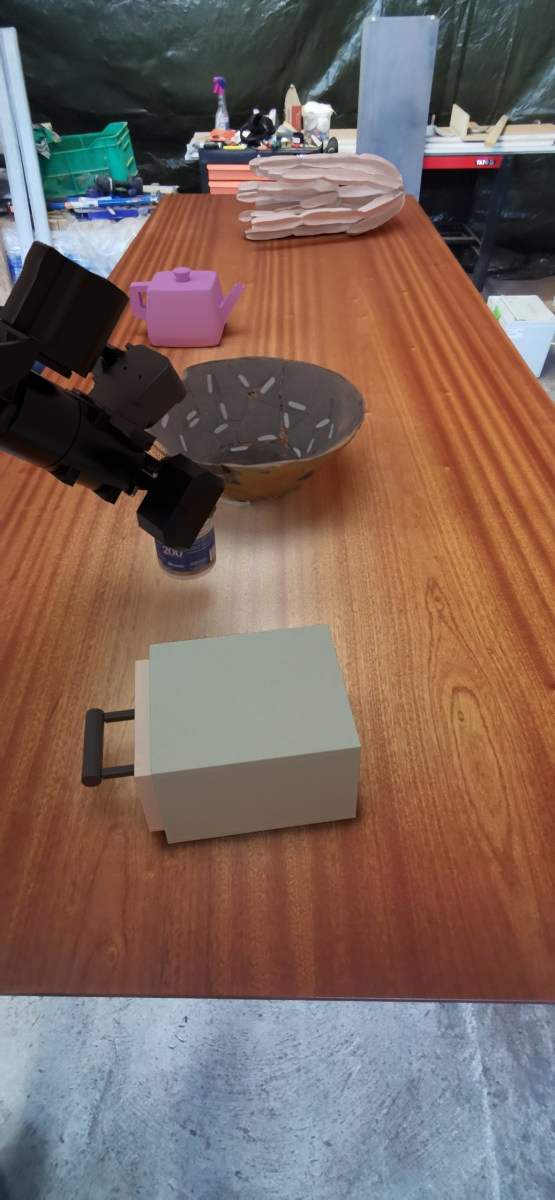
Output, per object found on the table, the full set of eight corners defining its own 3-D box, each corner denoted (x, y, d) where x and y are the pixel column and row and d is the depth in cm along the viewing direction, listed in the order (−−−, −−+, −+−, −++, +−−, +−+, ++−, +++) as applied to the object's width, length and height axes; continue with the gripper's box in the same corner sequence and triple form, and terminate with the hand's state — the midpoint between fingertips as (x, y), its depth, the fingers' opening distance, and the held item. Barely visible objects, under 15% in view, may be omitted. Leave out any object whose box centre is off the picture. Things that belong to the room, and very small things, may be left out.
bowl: (324, 566, 75) (325, 483, 68) (110, 521, 81) (93, 441, 75) (385, 443, 92) (391, 367, 85) (205, 415, 99) (197, 342, 92)
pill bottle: (147, 562, 68) (131, 472, 62) (193, 538, 71) (182, 449, 65) (182, 590, 65) (169, 499, 59) (228, 564, 68) (221, 474, 61)
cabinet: (168, 844, 52) (150, 774, 47) (164, 716, 61) (149, 644, 55) (355, 818, 53) (361, 746, 48) (326, 696, 62) (328, 623, 56)
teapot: (249, 322, 122) (246, 257, 115) (243, 349, 114) (239, 280, 107) (142, 322, 123) (133, 257, 116) (129, 348, 115) (117, 281, 108)
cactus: (388, 163, 160) (228, 171, 157) (414, 123, 143) (235, 131, 139) (393, 246, 163) (237, 256, 159) (420, 217, 146) (244, 227, 142)
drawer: (90, 840, 52) (69, 785, 47) (97, 723, 59) (79, 666, 55) (323, 808, 53) (324, 751, 49) (300, 698, 61) (299, 640, 56)
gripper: (189, 367, 45) (315, 458, 58) (41, 291, 56) (175, 383, 69) (103, 523, 47) (244, 578, 60) (-26, 420, 57) (117, 486, 70)
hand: (193, 498), depth 64 cm, fingers closed on pill bottle, 5 cm apart
